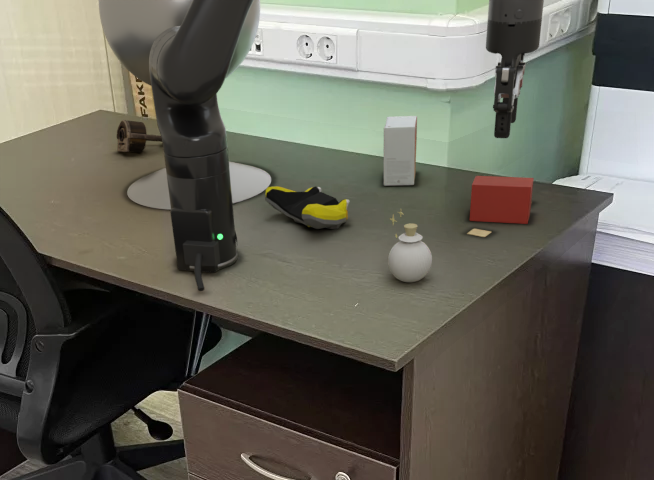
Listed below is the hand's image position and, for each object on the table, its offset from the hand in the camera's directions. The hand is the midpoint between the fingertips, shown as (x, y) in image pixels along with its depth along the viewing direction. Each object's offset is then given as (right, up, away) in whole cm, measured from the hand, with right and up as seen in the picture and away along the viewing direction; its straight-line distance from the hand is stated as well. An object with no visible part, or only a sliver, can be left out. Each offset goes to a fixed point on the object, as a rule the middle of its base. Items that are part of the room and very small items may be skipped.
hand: (505, 129), depth 132 cm
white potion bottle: (-17, -24, -10) cm, 31 cm away
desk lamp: (-49, 0, +33) cm, 59 cm away
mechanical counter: (-62, +13, +55) cm, 84 cm away
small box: (-12, -1, +27) cm, 29 cm away
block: (+1, -12, +7) cm, 14 cm away
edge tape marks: (+1, -12, +7) cm, 14 cm away
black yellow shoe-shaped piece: (-29, -12, +11) cm, 34 cm away
